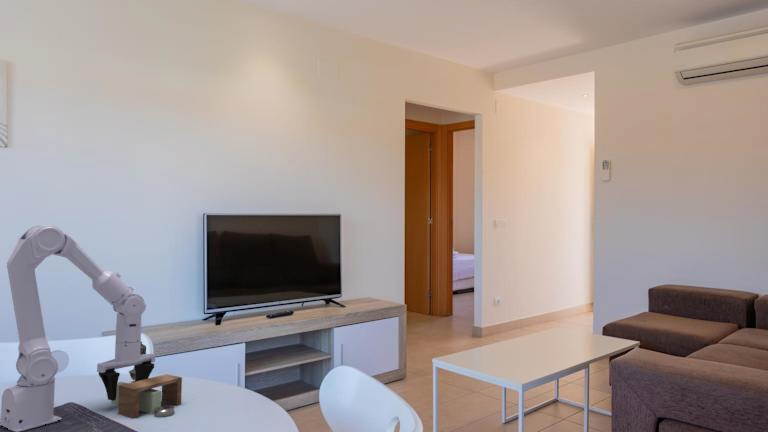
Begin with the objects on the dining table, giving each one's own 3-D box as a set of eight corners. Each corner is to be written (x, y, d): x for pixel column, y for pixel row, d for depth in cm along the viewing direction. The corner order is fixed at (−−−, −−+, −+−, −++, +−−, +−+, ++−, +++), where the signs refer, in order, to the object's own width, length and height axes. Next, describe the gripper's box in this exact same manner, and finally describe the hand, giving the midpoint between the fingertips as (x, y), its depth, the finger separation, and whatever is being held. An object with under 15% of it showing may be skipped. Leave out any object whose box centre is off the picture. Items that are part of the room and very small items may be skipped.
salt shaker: (135, 387, 149) (136, 343, 150) (124, 383, 152) (125, 341, 153) (155, 383, 154) (156, 340, 154) (144, 379, 157) (145, 338, 158)
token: (162, 419, 123) (162, 413, 123) (149, 416, 125) (149, 410, 125) (178, 414, 127) (178, 407, 127) (165, 411, 129) (165, 405, 129)
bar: (151, 414, 126) (152, 393, 127) (111, 403, 135) (112, 383, 135) (160, 412, 128) (161, 391, 129) (120, 401, 137) (121, 381, 137)
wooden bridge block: (133, 418, 123) (134, 389, 123) (118, 413, 126) (119, 385, 126) (181, 404, 134) (181, 377, 134) (165, 400, 137) (166, 374, 138)
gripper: (144, 335, 142) (142, 387, 142) (90, 343, 130) (88, 400, 129) (161, 338, 139) (159, 391, 138) (107, 347, 126) (105, 405, 126)
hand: (126, 396), depth 134 cm, fingers open, 7 cm apart
